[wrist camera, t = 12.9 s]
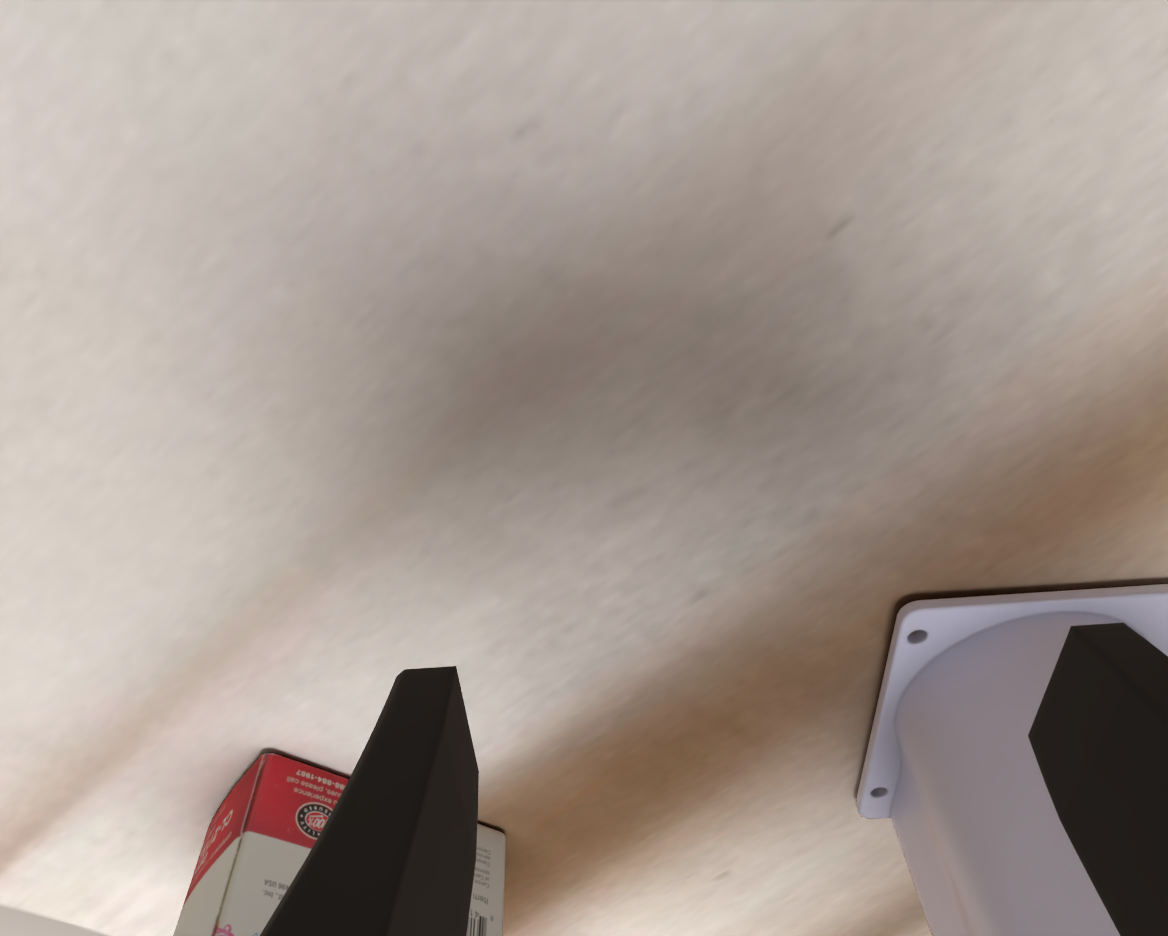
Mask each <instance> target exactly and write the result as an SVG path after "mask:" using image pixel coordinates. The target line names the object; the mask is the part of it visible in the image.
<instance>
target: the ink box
mask: <svg viewBox="0 0 1168 936" xmlns="http://www.w3.org/2000/svg"><path fill="white" fill-rule="evenodd" d="M348 781H349V779H346V778H344V777H341V776H338V775H335V774H332V773H330V772H327V771H324V770H321V769H318V768H315V767H312V766H309V765H306V764H303V763H301V762H298V761H294V760H291V759H288V758H285V757H283V756H280V755H277V754H273V753H267V754H262V755H260V756H259V758H258V759H257V761H256V762H255V763H254V764H253V765H252V766H251V768H250V769H249V770H248V771H247V772H246V773H245V774H244V776H243V777H242V778H241V780H240V781H239V782H238V783H237V784H236V785H235V787H234V788H233V789H232V791H231V792H230V793H229V795H228V796H227V798H226V799H225V800H224V802H223V803H222V805H221V806H220V808H219V809H218V811H217V813H216V814H215V816H214V817H213V819H212V821H211V823H210V825H209V828H208V831H207V834H206V837H205V840H204V843H203V846H202V849H201V853H200V856H199V859H198V862H197V865H196V868H195V871H194V875H193V878H192V881H191V884H190V887H189V890H188V893H187V896H186V899H185V902H184V905H183V908H182V911H181V914H180V917H179V920H178V924H177V926H176V929H175V932H174V935H173V936H260V934H261V933H262V931H263V929H264V928H265V926H266V924H267V923H268V921H269V919H270V918H271V916H272V914H273V913H274V911H275V909H276V908H277V906H278V904H279V903H280V901H281V900H282V898H283V896H284V895H285V893H286V891H287V890H288V888H289V886H290V885H291V883H292V881H293V880H294V878H295V876H296V875H297V873H298V871H299V870H300V868H301V866H302V865H303V863H304V861H305V860H306V858H307V856H308V854H309V853H310V851H311V849H312V847H313V846H314V844H315V842H316V840H317V838H318V836H319V835H320V833H321V831H322V829H323V827H324V825H325V824H326V822H327V820H328V818H329V816H330V814H331V812H332V811H333V809H334V807H335V805H336V803H337V801H338V799H339V798H340V796H341V794H342V792H343V790H344V788H345V786H346V785H347V783H348ZM505 848H506V836H505V835H504V834H503V833H502V832H500V831H497V830H494V829H491V828H489V827H486V826H483V825H480V824H477V849H476V863H475V872H474V880H473V888H472V896H471V903H470V911H469V919H468V927H467V935H466V936H503V916H504V878H505Z"/></svg>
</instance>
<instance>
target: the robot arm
mask: <svg viewBox="0 0 1168 936" xmlns="http://www.w3.org/2000/svg"><path fill="white" fill-rule="evenodd" d="M916 630H917V631H916ZM913 631H916V632H913ZM478 774H479V771H478V766H477V762H476V757H475V753H474V748H473V743H472V739H471V734H470V729H469V725H468V720H467V715H466V711H465V706H464V701H463V697H462V692H461V687H460V683H459V678H458V673H457V669H456V666H452V667H437V668H422V669H406V670H404V671H402V672H401V673H400V674H399V675H398V676H397V677H396V679H395V682H394V684H393V687H392V689H391V692H390V694H389V696H388V699H387V701H386V703H385V706H384V708H383V710H382V712H381V714H380V717H379V719H378V721H377V723H376V726H375V728H374V730H373V732H372V734H371V736H370V738H369V740H368V742H367V745H366V747H365V749H364V751H363V753H362V755H361V757H360V759H359V761H358V763H357V765H356V767H355V769H354V771H353V773H352V775H351V777H350V779H349V781H348V783H347V785H346V786H345V788H344V790H343V792H342V794H341V796H340V798H339V799H338V801H337V803H336V805H335V807H334V809H333V811H332V812H331V814H330V816H329V818H328V820H327V822H326V824H325V825H324V827H323V829H322V831H321V833H320V835H319V836H318V838H317V840H316V842H315V844H314V846H313V847H312V849H311V851H310V853H309V854H308V856H307V858H306V860H305V861H304V863H303V865H302V866H301V868H300V870H299V871H298V873H297V875H296V876H295V878H294V880H293V881H292V883H291V885H290V886H289V888H288V890H287V891H286V893H285V895H284V896H283V898H282V900H281V901H280V903H279V904H278V906H277V908H276V909H275V911H274V913H273V914H272V916H271V918H270V919H269V921H268V923H267V924H266V926H265V928H264V929H263V931H262V933H261V934H260V936H466V935H467V927H468V919H469V911H470V903H471V896H472V888H473V880H474V872H475V863H476V849H477V818H478ZM856 806H857V809H858V812H859V814H860V815H861V816H862V817H865V818H867V819H877V818H891V819H892V822H893V825H894V828H895V831H896V834H897V836H898V839H899V842H900V845H901V848H902V851H903V854H904V856H905V859H906V862H907V865H908V868H909V871H910V874H911V876H912V879H913V882H914V885H915V888H916V891H917V894H918V896H919V899H920V902H921V905H922V908H923V911H924V914H925V916H926V919H927V922H928V925H929V928H930V931H931V934H932V936H1168V584H1159V585H1143V586H1128V587H1113V588H1098V589H1083V590H1067V591H1052V592H1037V593H1022V594H1006V595H991V596H976V597H961V598H946V599H930V600H917V601H912V602H910V603H908V604H906V605H904V606H903V607H902V608H901V609H900V610H899V612H898V614H897V618H896V622H895V627H894V631H893V636H892V641H891V645H890V650H889V654H888V659H887V663H886V668H885V672H884V677H883V681H882V686H881V690H880V695H879V699H878V704H877V708H876V713H875V717H874V722H873V726H872V731H871V735H870V740H869V745H868V749H867V754H866V758H865V763H864V767H863V772H862V776H861V781H860V785H859V790H858V794H857V799H856Z"/></svg>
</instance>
